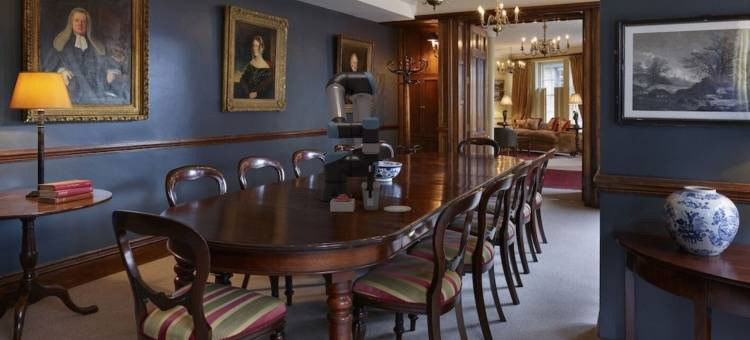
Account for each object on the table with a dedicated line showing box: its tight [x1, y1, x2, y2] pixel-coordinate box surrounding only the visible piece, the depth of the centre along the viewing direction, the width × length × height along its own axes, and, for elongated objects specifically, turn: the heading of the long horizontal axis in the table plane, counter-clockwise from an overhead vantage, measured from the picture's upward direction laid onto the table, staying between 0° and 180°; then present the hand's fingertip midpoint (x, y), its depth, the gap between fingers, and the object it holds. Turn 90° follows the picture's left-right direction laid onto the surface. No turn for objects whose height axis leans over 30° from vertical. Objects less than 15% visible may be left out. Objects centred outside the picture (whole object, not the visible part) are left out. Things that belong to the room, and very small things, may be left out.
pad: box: [383, 205, 412, 213], centre depth 251 cm, size 12×12×1 cm
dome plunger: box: [334, 194, 352, 202], centre depth 251 cm, size 8×8×5 cm
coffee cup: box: [360, 180, 381, 211], centre depth 251 cm, size 8×8×12 cm
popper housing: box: [329, 198, 356, 213], centre depth 251 cm, size 10×10×4 cm
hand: (370, 203), depth 251 cm, fingers open, 10 cm apart
